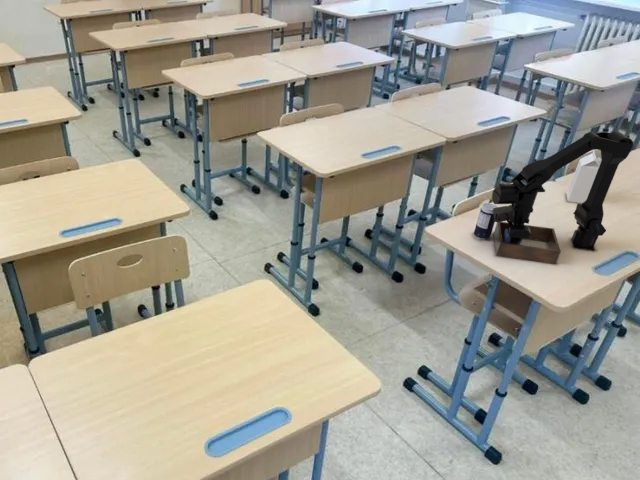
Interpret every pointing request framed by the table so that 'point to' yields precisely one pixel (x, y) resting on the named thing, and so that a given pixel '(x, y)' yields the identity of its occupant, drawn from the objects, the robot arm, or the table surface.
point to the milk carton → (583, 178)
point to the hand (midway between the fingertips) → (510, 243)
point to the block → (507, 237)
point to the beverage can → (485, 222)
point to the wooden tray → (528, 251)
